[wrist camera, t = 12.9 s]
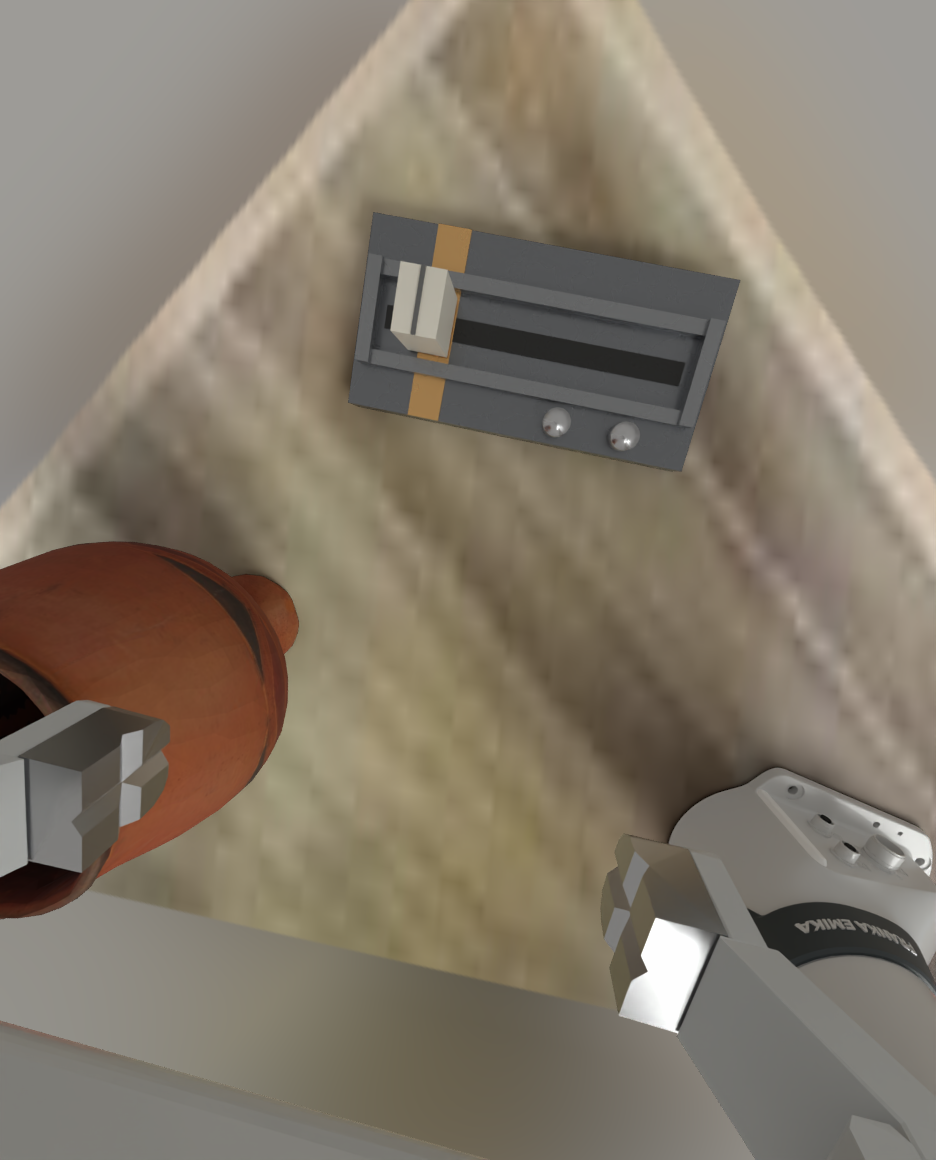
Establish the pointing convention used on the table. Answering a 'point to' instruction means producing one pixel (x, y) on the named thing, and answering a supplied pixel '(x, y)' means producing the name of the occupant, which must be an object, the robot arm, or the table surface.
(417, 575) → the table surface
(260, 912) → the table surface
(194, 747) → the terracotta clay pot
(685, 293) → the console
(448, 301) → the fader cap
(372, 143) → the table surface
